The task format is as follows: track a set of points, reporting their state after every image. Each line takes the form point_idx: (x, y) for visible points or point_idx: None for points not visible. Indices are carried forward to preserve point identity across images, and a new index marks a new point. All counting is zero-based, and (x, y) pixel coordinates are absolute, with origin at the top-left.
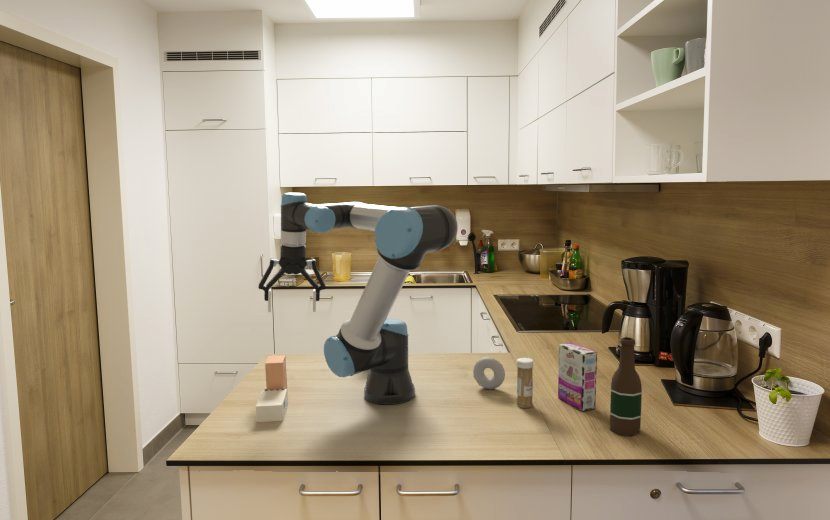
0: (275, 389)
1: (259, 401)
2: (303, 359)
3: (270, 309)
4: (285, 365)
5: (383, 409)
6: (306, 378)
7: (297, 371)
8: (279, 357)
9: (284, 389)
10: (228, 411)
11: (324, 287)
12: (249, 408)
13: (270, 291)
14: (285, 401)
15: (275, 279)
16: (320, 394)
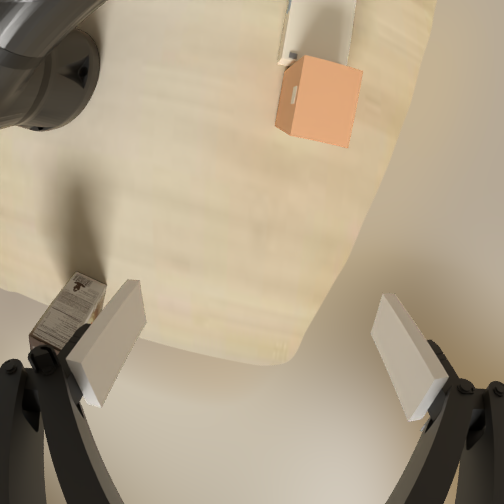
0: None
1: (351, 8)
2: (226, 333)
3: (388, 301)
4: (287, 118)
5: None
6: (222, 219)
7: (242, 270)
8: (313, 115)
9: (289, 54)
10: (401, 76)
11: (5, 367)
12: None
13: (434, 383)
14: (286, 22)
15: (439, 473)
16: (193, 100)
